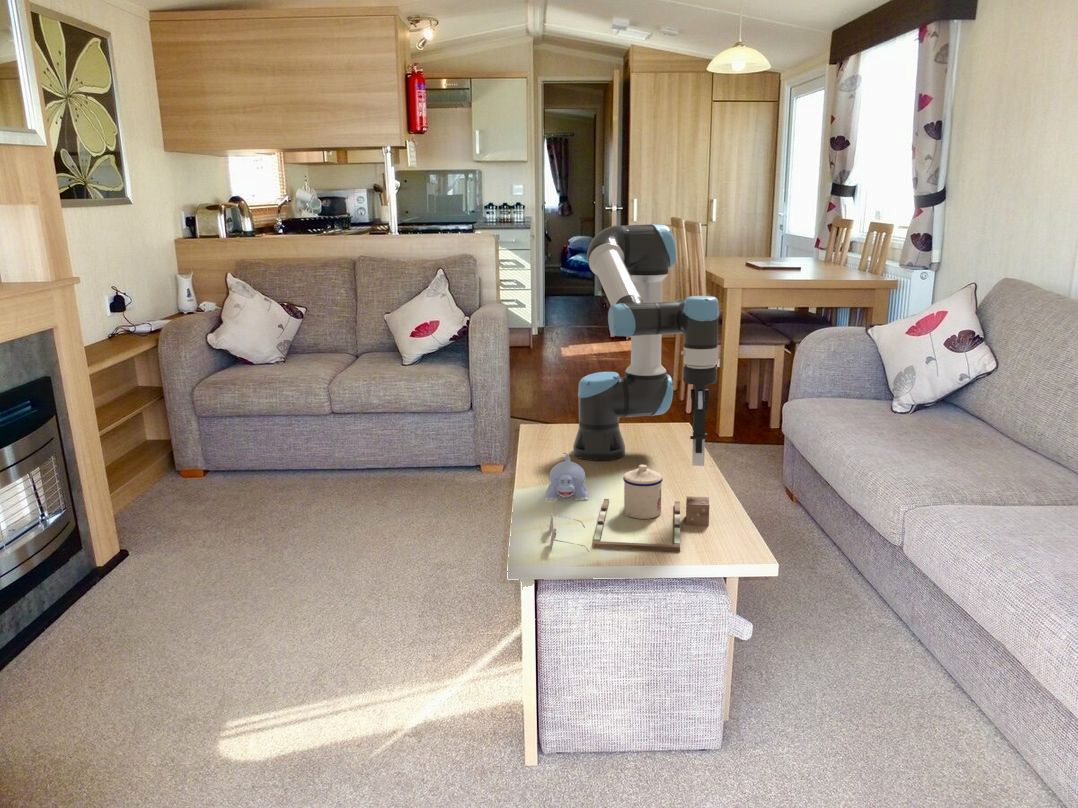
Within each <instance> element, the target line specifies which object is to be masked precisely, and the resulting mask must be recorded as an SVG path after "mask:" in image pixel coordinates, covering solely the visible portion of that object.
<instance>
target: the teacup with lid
mask: <svg viewBox="0 0 1078 808" xmlns="http://www.w3.org/2000/svg"><path fill="white" fill-rule="evenodd" d="M622 478H623V479H622V480H623V484H624V485H623V488H624V489H623V490H624V491H623V494H624V495H623V496H624V497H623V500H624V501H623V511H624V513H625V515H627V516H628V517H630V518H632V519H638V520H648V519H654V518H657V517H659V516H660V514H662V482H663V476H662V474H661V473H659V472H658V471H655V470H652V469H650V468H648V466H647V464H639V465H638V468H636V469H633V470H629V471H627V472H626V473H624V475H623V477H622Z"/></svg>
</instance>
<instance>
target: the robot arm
mask: <svg viewBox="0 0 1078 808" xmlns="http://www.w3.org/2000/svg"><path fill="white" fill-rule="evenodd" d="M586 259H587V263H588V266H589V269H590V271H591V272H592V273H593V274H594V275H596V276H597V277H598V279H599V281H600V284H601V286H602V288H603V290H604V293H605V295H606V297H607V300H608V302H609V305H610V306H609V309H608V313H607V321H608V322H607V323H608V329H609V332H610V334H611V335H612V336H613V337H627V338H629V337H630V364H629V366H627V368H626V369H625V376H620V374H619V373H618V372H615V371H599V372H594V373H591V374H590V373H589V374H587V375H586V376H583V377H582V378H581V379H580V380H579V382H578V392H577V398H578V428H577V432H576V436H575V439H574V442H573V445H572V447H573V449H572V451H573V455H574V456H575V457H577V458H579V459H582V460H585V461H586V460H587V461H599V462H601V461H611V460H616V459H619V458H622V457H623V456H625V454H626V444H625V442H624V438H623V435H622V432H621V428H620V418H633V417H647V416H649V417H654V416H659V415H663V414H665V413H667V412H668V411H669V409H670V407H671V405H672V401H673V394H674V386H673V379H672V377H671V375H670V374H667V369H666V368H665V367H664V366H663V365H662V336H663V335H676V334H680V335H681V334H683V350H681V351H680V355H682V356H683V364H684V366H683V368H682V369H683V370H682V374H683V375H682V380H683V382H684V383H685V384H687V385H694V388H691V389H690V399H691V409H692V410H691V411H693V415H692V416H693V417H692V419H693V420H692V424H693V425H692V435H690V438H689V439H690V440H692V453H691V454H692V455H691V456H692V457H691V462H692V463H691V464H692V467H697V466H698V467H704V466H705V448H706V447H705V445H706V444H705V443H706V437H708V432H706V411H707V410H708V401H709V397H710V395H709V394H710V392H709V389H708V388H707V389H706V386H708V385H713V384H716V383H717V381H718V367H717V366H716V365H718V360H719V359H718V357H719V355H718V354H719V352H718V351H719V350H718V349H719V346H718V343H719V342H718V341H719V319H720V317H719V316H720V311H719V309H720V308H719V307H720V306H719V300H718V298H717V297H716V296H711V295H710V296H709V295H693V296H692V295H690V296H687V297H686V298H685V299H676V300H675V301H663V285H664V284H663V283H664V282H663V281H664V280H665V278H666V277H667V276H668V275H669V268H673V267H674V266H675V264H676V259H677V247H676V242H675V238H674V235H673V233H672V230H671V229H670V227H668V226H667V225H664V224H653V223H650V224H631V225H630V224H628V225H627V224H626V225H611V226H608V227H606V228H604V229H602V230H601V231H599V232H598V233H597V234H596V235H595V236H594V237H593V238H592V240H591V241H590V243H589V245H588V247H587V252H586Z"/></svg>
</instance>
